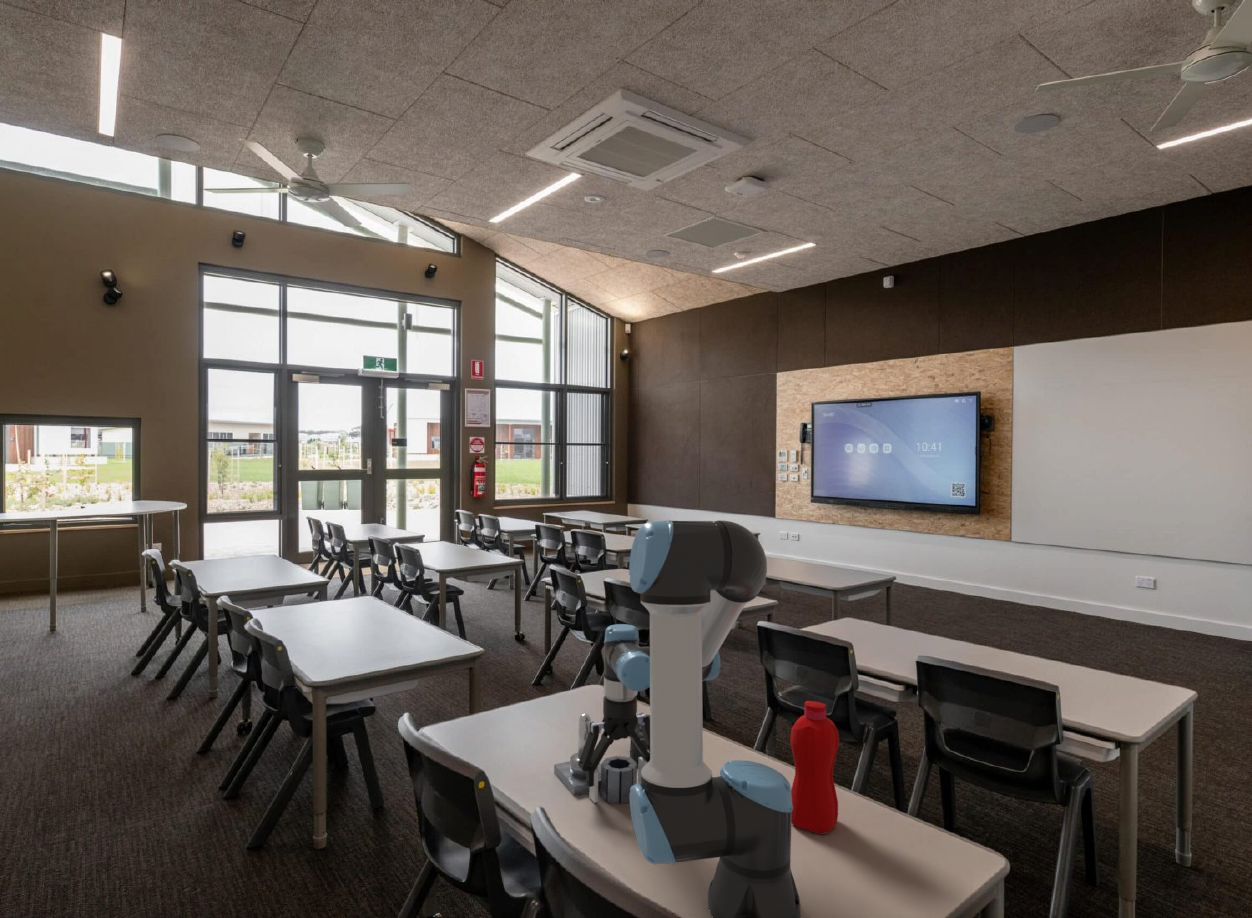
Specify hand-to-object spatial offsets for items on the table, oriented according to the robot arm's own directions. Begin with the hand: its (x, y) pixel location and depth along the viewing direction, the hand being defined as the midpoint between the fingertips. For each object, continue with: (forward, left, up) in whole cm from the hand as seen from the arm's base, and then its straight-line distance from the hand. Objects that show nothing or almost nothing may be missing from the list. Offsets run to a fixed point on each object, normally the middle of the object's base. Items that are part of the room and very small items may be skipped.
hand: (618, 793), depth 152 cm
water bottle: (-27, -32, 0) cm, 42 cm away
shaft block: (+10, +4, 0) cm, 11 cm away
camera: (+15, -15, -1) cm, 21 cm away
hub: (0, 0, 0) cm, 0 cm away
